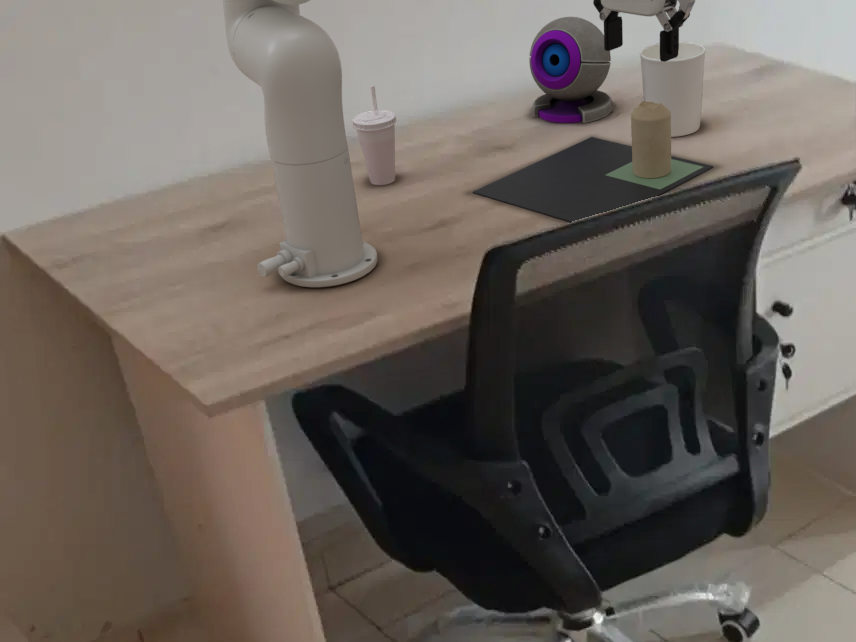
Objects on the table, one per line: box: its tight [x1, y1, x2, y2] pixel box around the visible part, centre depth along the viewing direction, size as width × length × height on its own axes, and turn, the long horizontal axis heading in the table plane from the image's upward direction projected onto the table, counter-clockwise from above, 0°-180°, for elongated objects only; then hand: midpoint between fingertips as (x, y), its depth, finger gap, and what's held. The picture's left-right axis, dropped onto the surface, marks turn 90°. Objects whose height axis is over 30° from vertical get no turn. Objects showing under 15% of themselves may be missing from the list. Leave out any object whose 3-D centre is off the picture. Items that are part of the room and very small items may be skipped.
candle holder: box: [639, 40, 707, 138], centre depth 190 cm, size 10×10×12 cm
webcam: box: [529, 16, 613, 124], centre depth 200 cm, size 13×13×15 cm
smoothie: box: [351, 85, 397, 186], centre depth 181 cm, size 6×6×14 cm
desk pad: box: [472, 136, 714, 223], centre depth 178 cm, size 26×23×1 cm
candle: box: [630, 100, 672, 178], centre depth 175 cm, size 6×6×10 cm
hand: (640, 53), depth 169 cm, fingers open, 9 cm apart
